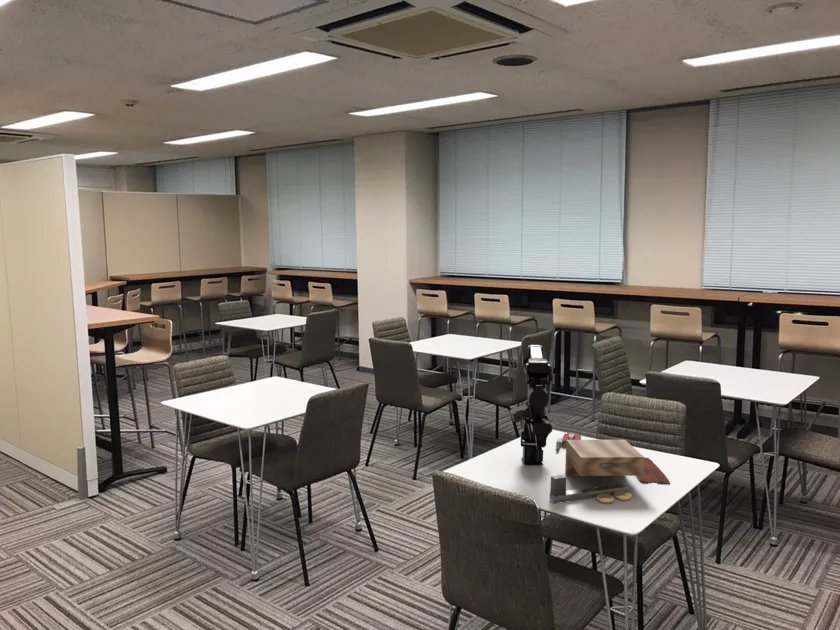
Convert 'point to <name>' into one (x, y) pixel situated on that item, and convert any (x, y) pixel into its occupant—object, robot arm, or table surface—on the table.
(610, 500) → the brass disc
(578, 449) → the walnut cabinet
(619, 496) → the brass disc
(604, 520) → the table surface
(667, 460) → the table surface
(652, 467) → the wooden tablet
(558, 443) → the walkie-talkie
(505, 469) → the table surface
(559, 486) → the gray l-shaped bracket
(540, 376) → the robot arm
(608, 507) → the table surface
